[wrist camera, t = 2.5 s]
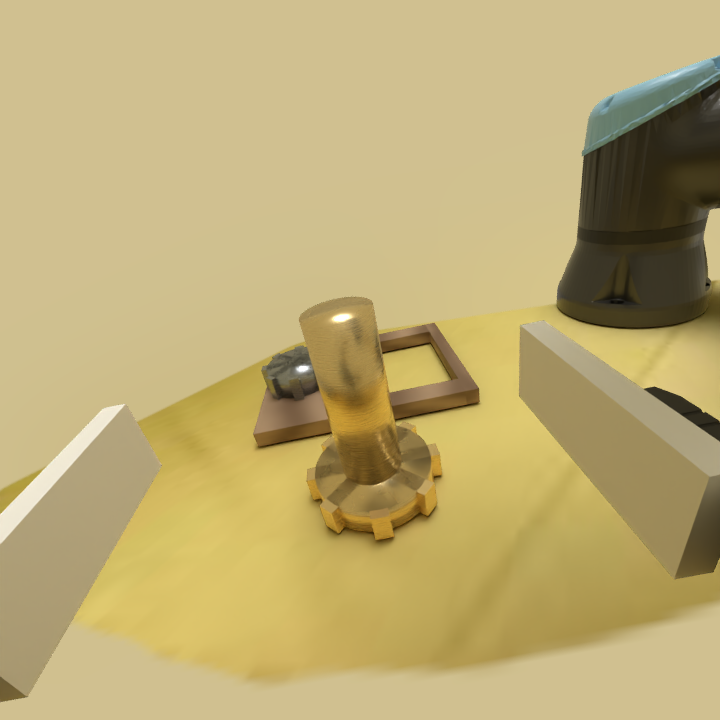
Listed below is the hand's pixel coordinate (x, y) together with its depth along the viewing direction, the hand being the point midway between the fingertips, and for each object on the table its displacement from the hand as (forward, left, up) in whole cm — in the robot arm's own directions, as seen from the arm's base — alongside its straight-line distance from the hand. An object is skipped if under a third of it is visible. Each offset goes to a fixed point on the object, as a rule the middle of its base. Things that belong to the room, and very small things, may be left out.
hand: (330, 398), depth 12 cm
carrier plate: (0, -25, -14) cm, 29 cm away
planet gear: (0, -10, -14) cm, 18 cm away
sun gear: (+6, -25, -13) cm, 29 cm away
